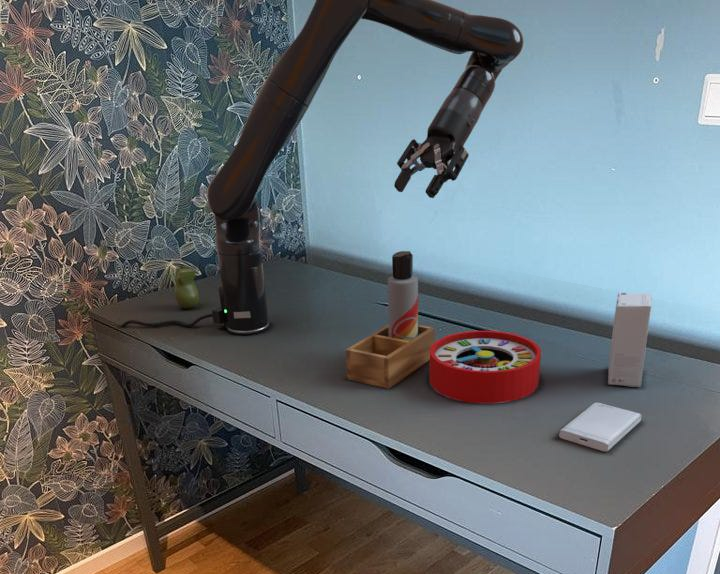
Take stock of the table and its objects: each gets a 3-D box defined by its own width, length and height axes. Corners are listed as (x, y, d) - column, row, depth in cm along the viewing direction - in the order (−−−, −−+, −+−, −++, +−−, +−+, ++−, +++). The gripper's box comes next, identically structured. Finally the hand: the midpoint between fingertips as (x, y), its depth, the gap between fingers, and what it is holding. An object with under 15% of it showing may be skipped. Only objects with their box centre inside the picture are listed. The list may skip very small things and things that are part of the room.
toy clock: (564, 358, 135) (464, 381, 129) (560, 389, 138) (463, 412, 132) (502, 323, 151) (410, 342, 145) (500, 351, 154) (411, 371, 148)
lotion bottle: (415, 360, 149) (415, 256, 139) (386, 359, 150) (384, 256, 140) (419, 349, 154) (419, 248, 144) (391, 348, 155) (389, 247, 145)
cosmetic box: (640, 388, 137) (653, 307, 129) (605, 385, 139) (616, 305, 131) (641, 369, 144) (653, 291, 136) (607, 367, 146) (617, 290, 138)
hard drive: (594, 401, 130) (559, 428, 122) (642, 413, 125) (608, 443, 117) (593, 410, 131) (558, 438, 123) (640, 423, 126) (607, 452, 118)
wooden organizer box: (347, 379, 146) (345, 349, 143) (395, 348, 158) (394, 320, 155) (388, 389, 141) (388, 358, 138) (434, 356, 154) (435, 327, 150)
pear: (192, 302, 189) (186, 261, 184) (205, 307, 186) (199, 265, 180) (173, 308, 185) (166, 267, 180) (186, 313, 182) (179, 271, 177)
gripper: (419, 104, 150) (377, 175, 150) (475, 108, 141) (430, 184, 141) (437, 131, 156) (397, 199, 155) (492, 136, 147) (449, 209, 146)
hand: (413, 192), depth 148 cm, fingers open, 8 cm apart
